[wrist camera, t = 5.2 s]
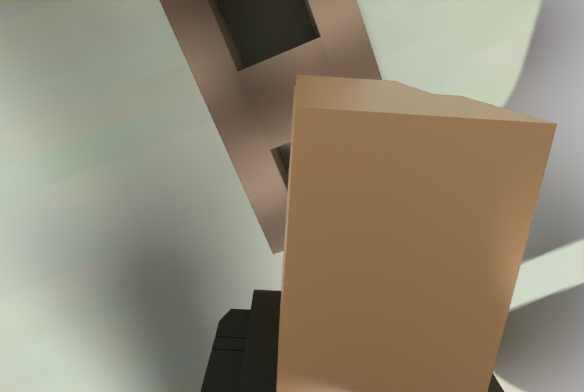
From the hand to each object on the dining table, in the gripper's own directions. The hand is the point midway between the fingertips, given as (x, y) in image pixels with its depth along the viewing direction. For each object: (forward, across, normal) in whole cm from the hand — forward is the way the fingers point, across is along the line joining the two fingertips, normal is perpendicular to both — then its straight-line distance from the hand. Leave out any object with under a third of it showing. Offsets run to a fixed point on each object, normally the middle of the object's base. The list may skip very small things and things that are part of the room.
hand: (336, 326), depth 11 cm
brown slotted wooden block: (+18, +1, -4) cm, 19 cm away
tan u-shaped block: (+4, 0, 0) cm, 4 cm away
